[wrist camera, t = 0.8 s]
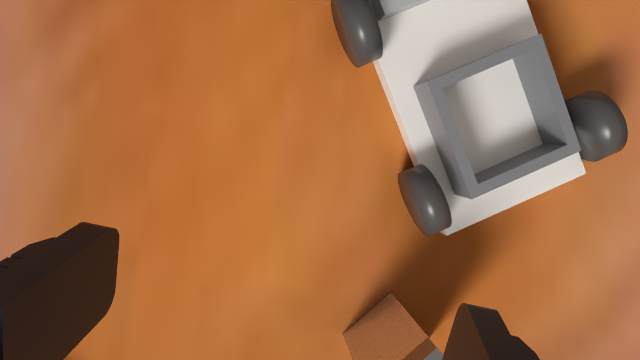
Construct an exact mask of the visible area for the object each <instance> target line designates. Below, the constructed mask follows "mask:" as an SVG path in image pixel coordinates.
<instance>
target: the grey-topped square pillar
mask: <svg viewBox="0 0 640 360" xmlns="http://www.w3.org/2000/svg"><path fill="white" fill-rule="evenodd" d="M343 336H344V339H345V341H346V344H347V346H348V349H349V351H350V354H351V356H352V359H353V360H442V359H443V354H442V352H441V351H440V350H439V349H438V347H437V346H436V345H435V344H434V343H433V341H432V340H431V339H430V338H429V337H428V335H427V334H426V333H425V332H424V331H423V329H422V328H421V327H420V326H419V325H418V324H417V322H416V321H415V320H414V319H413V318H412V316H411V315H410V314H409V313H408V312H407V311H406V309H405V308H404V307H403V306H402V305H401V303H400V302H399V301H398V300H397V299H396V297H395V296H394V295H393V294H392V293H390V294H389V295H387V296H386V297H385V298H384V299H383V300H382V301H380V302H379V303H378V304H377V305H376V306H375V307H373V308H372V309H371V310H370V311H369V312H368V313H366V314H365V315H364V316H363V317H362V318H361V319H359V320H358V321H357V322H356V323H355V324H354V325H352V326H351V327H350V328H349V329H348V330H347V331H345V332H344V333H343Z"/></svg>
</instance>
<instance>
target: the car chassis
mask: <svg viewBox="0 0 640 360" xmlns="http://www.w3.org/2000/svg"><path fill="white" fill-rule="evenodd" d="M331 9H332V15H333V20H334V23H335V27H336V30H337V33H338V36H339V39H340V41H341V44H342V46H343V48H344V50H345V52H346V54H347V56H348V58H349V59H350V61H351V62H352V63H353V64H354V66H356V67H361V66H363V65H366V64H368V63H370V62H373V64H374V66H375V69H376V71H377V74H378V76H379V79H380V81H381V84H382V87H383V89H384V92H385V94H386V97H387V99H388V102H389V104H390V107H391V110H392V112H393V115H394V117H395V120H396V122H397V125H398V127H399V130H400V133H401V135H402V138H403V140H404V143H405V145H406V148H407V150H408V153H409V156H410V158H411V161H412V163H413V166H414V167H412V168H410V169H407V170H405V171H403V172H401V173H399V174H398V183H399V187H400V191H401V194H402V197H403V200H404V202H405V204H406V207H407V209H408V211H409V213H410V215H411V217H412V218H413V220H414V222H415V223H416V225H417V226H418V228H419V229H420V230H421V232H422V233H423V234H424V235H426V236H431V235H433V234H435V233H438V232H440V233H442V234H444V235H446V236H448V235H450V234H452V233H454V232H457V231H459V230H461V229H463V228H465V227H468V226H470V225H472V224H474V223H477V222H479V221H481V220H483V219H486V218H488V217H490V216H492V215H494V214H497V213H499V212H501V211H503V210H506V209H508V208H510V207H512V206H514V205H517V204H519V203H521V202H523V201H526V200H528V199H530V198H532V197H535V196H537V195H539V194H541V193H543V192H546V191H548V190H550V189H552V188H555V187H557V186H559V185H561V184H564V183H566V182H568V181H570V180H572V179H575V178H577V177H579V176H581V175H584V174H586V172H585V169H584V166H583V163H582V160H581V158H582V159H584V160H587V161H591V162H595V161H599V160H601V159H603V158H605V157H608V156H610V155H612V154H614V153H617V152H619V151H620V150H622V149H623V147H624V146H625V144H626V142H627V136H628V130H627V124H626V121H625V118H624V116H623V114H622V112H621V110H620V109H619V107H618V106H617V105H616V103H615V102H614V101H613V100H612V99H611V98H609V97H608V96H607V95H605V94H603V93H601V92H598V91H587V92H585V93H582V94H580V95H578V96H575V97H573V98H571V99H569V100H566V101H564V98H563V95H562V92H561V90H560V87H559V84H558V81H557V78H556V75H555V72H554V69H553V66H552V63H551V60H550V57H549V54H548V52H547V49H546V46H545V43H544V40H543V37H542V34H539V35H538V32H537V29H536V26H535V23H534V20H533V17H532V14H531V11H530V8H529V6H528V3H527V0H331Z"/></svg>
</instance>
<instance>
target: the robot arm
mask: <svg viewBox="0 0 640 360" xmlns="http://www.w3.org/2000/svg"><path fill="white" fill-rule="evenodd" d="M118 251H119V233H118V231H117V229H115V228H110V227H105V226H101V225H96V224H91V223H86V222H81V223H79V224H78V225H76V226H74V227H73V228H71V229H70V230H68V231H66V232H65V233H63V234H62V235H60V236H58V237H57V238H55V237H53V238H49V239H46V240H43V241H39V242H36V243H33V244H29V245H28V246H26V247H24V248H22V249H21V250H19V251H17V252H16V253H14V254H12V255H11V257H10V258H9V257H7V258H5V259H4V260H2V261H0V360H63V359H64V358H65V357H66V356H67V355H68V354H69V353H70V352H71V351H72V350H73V349H74V348H75V347H76V346H77V345H78V343H79V342H80V341H81V340H82V339H83V338H84V337H85V336H86V335H87V334H88V333H89V332H90V331H91V330H92V329H93V328H94V327H95V326H96V325H97V324H98V323H99V322H100V320H101V319H102V318H103V317H104V316H105V315H106V313H107V312H108V310H109V308H110V306H111V304H112V301H113V298H114V294H115V288H116V275H117V263H118ZM442 360H540V359H539V358H538V356H537V354H536V353H535V352H534V351H533V350H532V349H531V348H530V347H528V346H527V345H526V344H525V343H524V342H523V341H522V340H521V339H520V338H519V337H516V336H512V335H510V333H509V331H508V329H507V327H506V325H505V324H504V322H503V320H502V318H501V316H500V314H499V313H498V311H497V310H494V309H490V308H485V307H480V306H475V305H471V304H466V303H462V304H461V305H460V307H459V308H458V310H457V313H456V316H455V320H454V323H453V326H452V329H451V333H450V336H449V339H448V342H447V346H446V349H445V352H444V355H443V359H442Z"/></svg>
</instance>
